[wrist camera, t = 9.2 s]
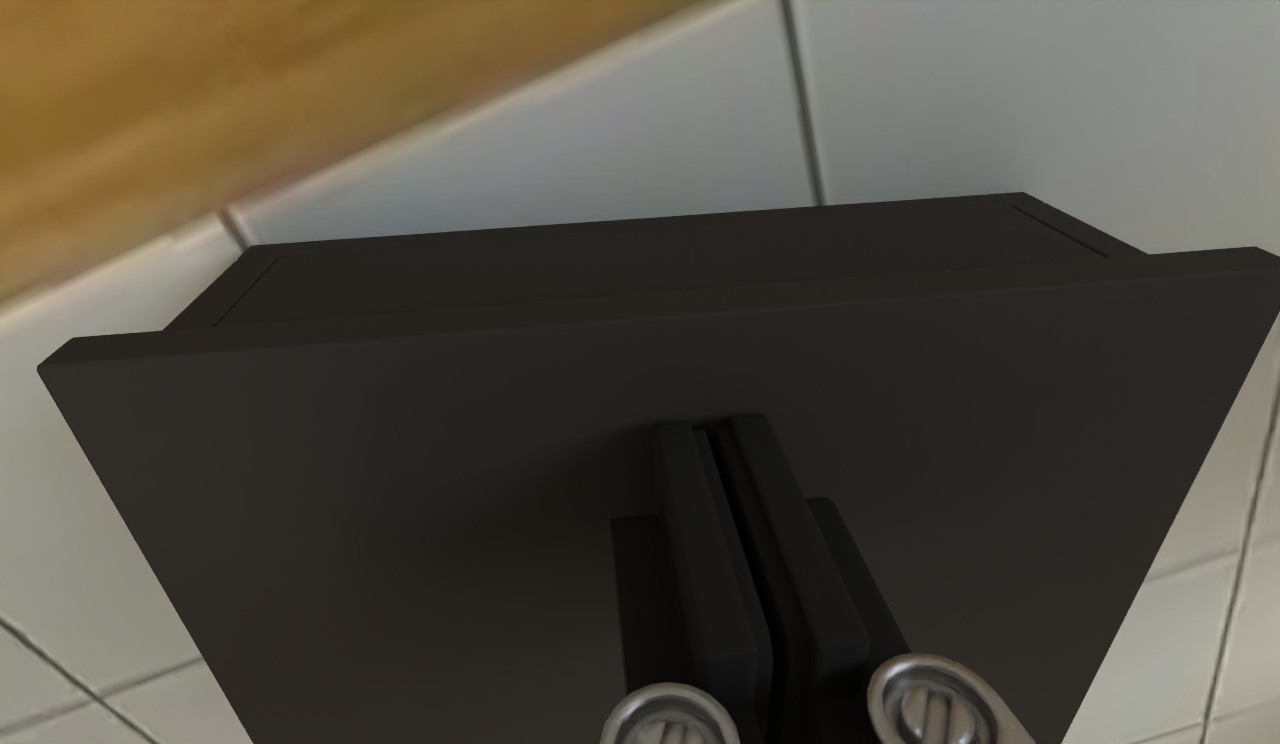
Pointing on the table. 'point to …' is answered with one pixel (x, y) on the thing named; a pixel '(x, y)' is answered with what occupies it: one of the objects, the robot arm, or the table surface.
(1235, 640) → the table surface
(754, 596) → the robot arm
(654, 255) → the black box base
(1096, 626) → the box cover
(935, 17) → the table surface
